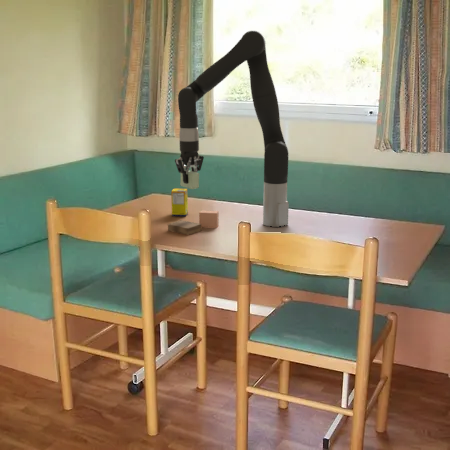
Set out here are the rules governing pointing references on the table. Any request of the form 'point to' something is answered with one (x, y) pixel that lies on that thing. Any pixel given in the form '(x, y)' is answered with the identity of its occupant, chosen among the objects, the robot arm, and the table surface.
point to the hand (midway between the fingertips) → (189, 182)
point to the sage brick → (191, 180)
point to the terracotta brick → (209, 219)
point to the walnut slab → (184, 227)
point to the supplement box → (179, 202)
